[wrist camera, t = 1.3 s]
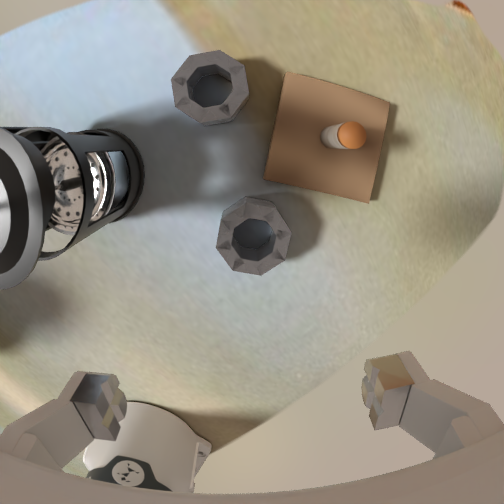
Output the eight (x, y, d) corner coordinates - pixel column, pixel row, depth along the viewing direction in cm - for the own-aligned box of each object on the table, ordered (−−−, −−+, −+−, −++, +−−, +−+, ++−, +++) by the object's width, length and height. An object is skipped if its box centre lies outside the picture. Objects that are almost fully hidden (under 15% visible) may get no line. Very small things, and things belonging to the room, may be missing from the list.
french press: (169, 180, 29) (3, 267, 7) (108, 246, 30) (-45, 391, 9) (92, 99, 26) (-105, 64, 4) (39, 169, 28) (-144, 221, 6)
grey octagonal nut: (276, 265, 32) (280, 278, 28) (215, 254, 31) (212, 266, 28) (290, 205, 30) (296, 212, 26) (226, 193, 29) (224, 198, 26)
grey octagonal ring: (251, 118, 27) (252, 114, 24) (185, 129, 27) (178, 127, 24) (241, 58, 25) (241, 46, 22) (176, 69, 25) (168, 60, 22)
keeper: (363, 200, 30) (396, 217, 23) (263, 178, 29) (270, 187, 22) (383, 104, 27) (422, 94, 20) (284, 75, 26) (298, 52, 19)
